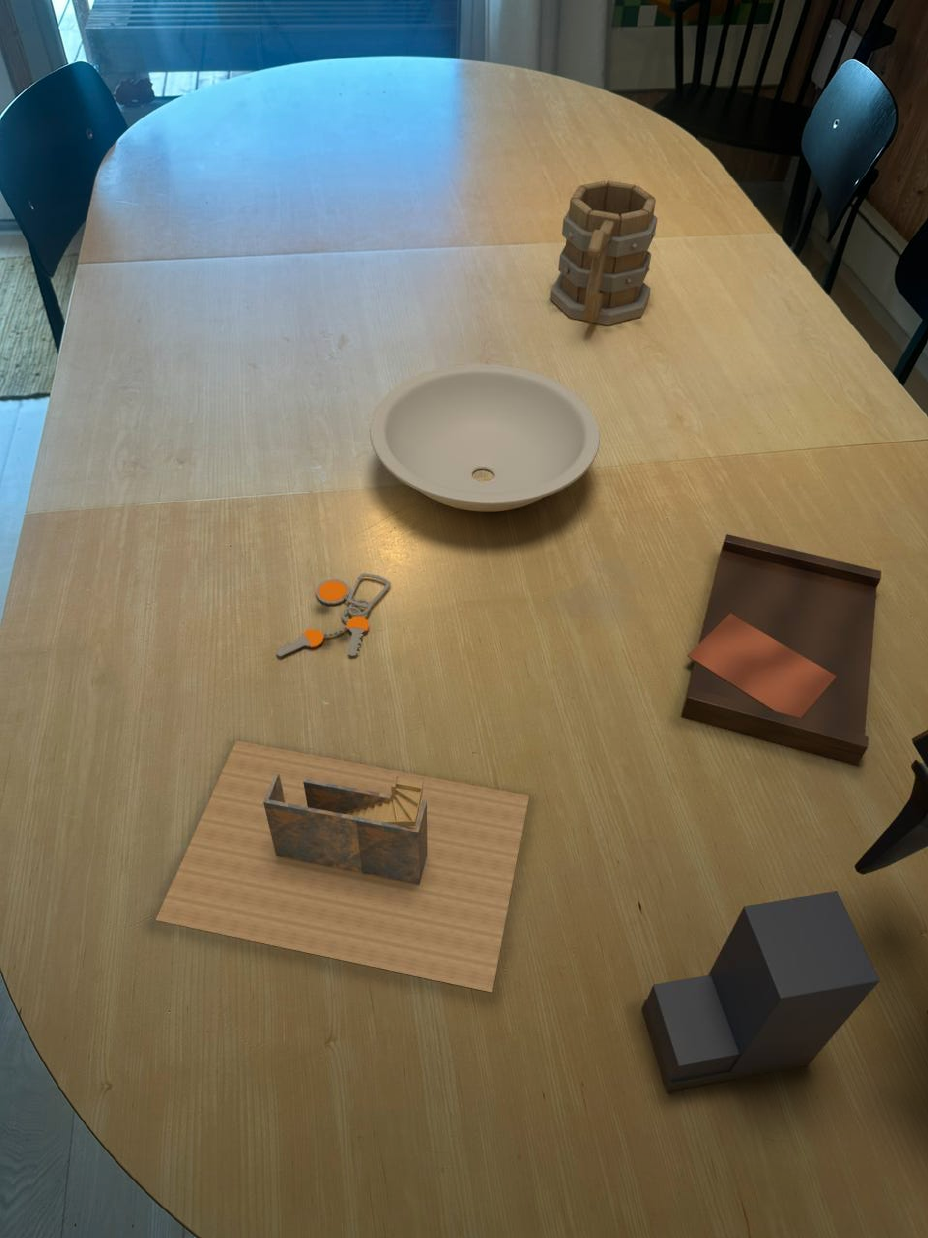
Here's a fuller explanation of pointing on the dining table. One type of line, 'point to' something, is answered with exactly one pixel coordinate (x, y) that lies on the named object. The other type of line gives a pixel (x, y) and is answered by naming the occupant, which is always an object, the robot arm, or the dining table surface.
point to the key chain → (335, 594)
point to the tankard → (606, 253)
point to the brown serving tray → (786, 649)
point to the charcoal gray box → (762, 995)
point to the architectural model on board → (353, 864)
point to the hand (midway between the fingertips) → (892, 939)
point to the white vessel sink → (484, 435)
